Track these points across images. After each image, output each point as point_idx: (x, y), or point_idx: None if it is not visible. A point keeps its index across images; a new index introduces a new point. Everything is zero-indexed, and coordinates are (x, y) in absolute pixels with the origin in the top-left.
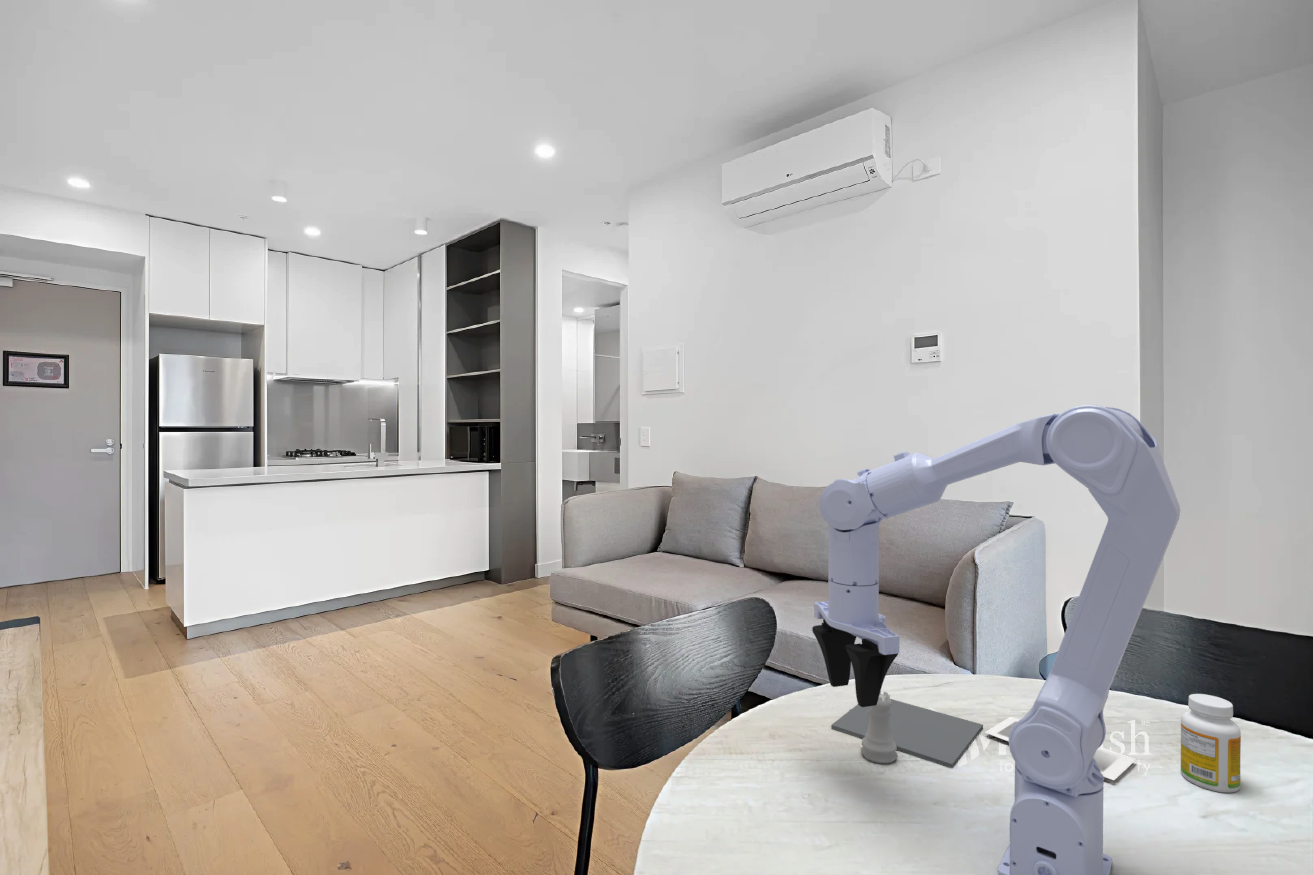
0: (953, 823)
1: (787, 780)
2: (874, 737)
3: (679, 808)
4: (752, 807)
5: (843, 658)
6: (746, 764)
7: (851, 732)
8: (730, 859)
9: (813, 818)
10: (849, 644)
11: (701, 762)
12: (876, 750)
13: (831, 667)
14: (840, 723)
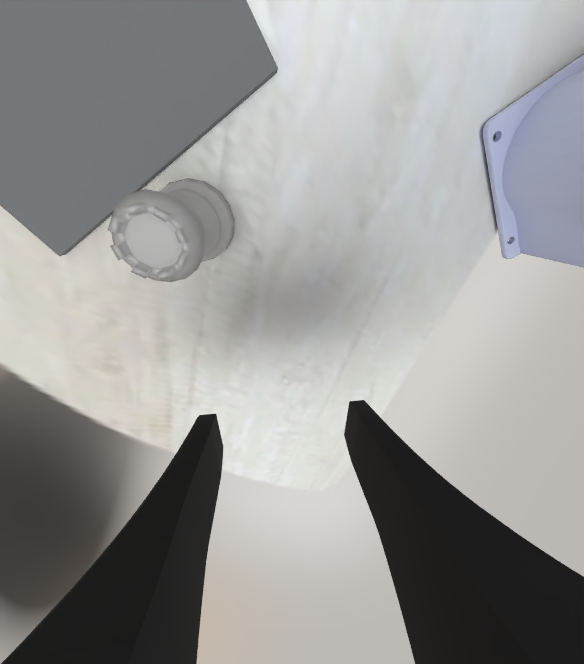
0: (410, 234)
1: (247, 388)
2: (206, 250)
3: (272, 476)
4: (289, 430)
5: (195, 521)
6: None
7: (94, 226)
8: None
9: (327, 388)
10: (164, 594)
11: None
12: (222, 249)
13: (211, 514)
14: (47, 229)
